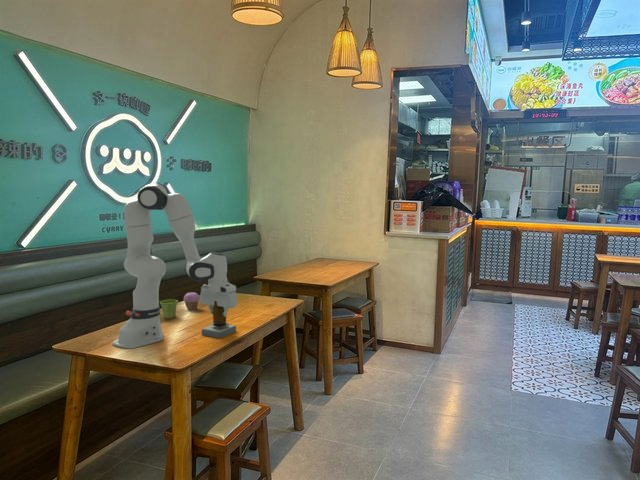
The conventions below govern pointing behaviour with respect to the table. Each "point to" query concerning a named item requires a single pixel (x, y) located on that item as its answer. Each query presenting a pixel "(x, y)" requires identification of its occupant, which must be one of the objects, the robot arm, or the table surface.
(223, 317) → the condiment
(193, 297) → the cupcake
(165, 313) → the plant pot
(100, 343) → the table surface
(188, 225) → the robot arm
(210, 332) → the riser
